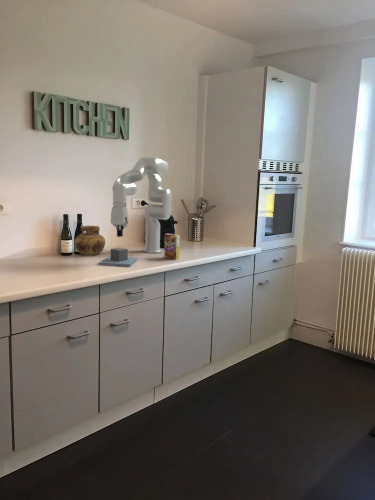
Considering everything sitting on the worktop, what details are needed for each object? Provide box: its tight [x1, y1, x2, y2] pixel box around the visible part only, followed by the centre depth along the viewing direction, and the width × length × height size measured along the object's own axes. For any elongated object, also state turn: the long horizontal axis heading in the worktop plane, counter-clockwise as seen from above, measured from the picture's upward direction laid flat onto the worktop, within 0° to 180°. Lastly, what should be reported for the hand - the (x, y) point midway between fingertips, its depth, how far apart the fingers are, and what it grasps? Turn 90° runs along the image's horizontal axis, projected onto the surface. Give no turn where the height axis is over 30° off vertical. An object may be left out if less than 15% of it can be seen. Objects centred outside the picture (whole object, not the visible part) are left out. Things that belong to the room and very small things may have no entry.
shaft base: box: [98, 255, 139, 268], centre depth 256 cm, size 20×18×6 cm
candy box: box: [163, 233, 181, 261], centre depth 273 cm, size 9×4×15 cm, turn 60°
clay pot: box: [74, 225, 106, 256], centre depth 277 cm, size 19×19×20 cm
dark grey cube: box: [110, 247, 129, 262], centre depth 256 cm, size 7×7×7 cm
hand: (119, 236), depth 255 cm, fingers closed
